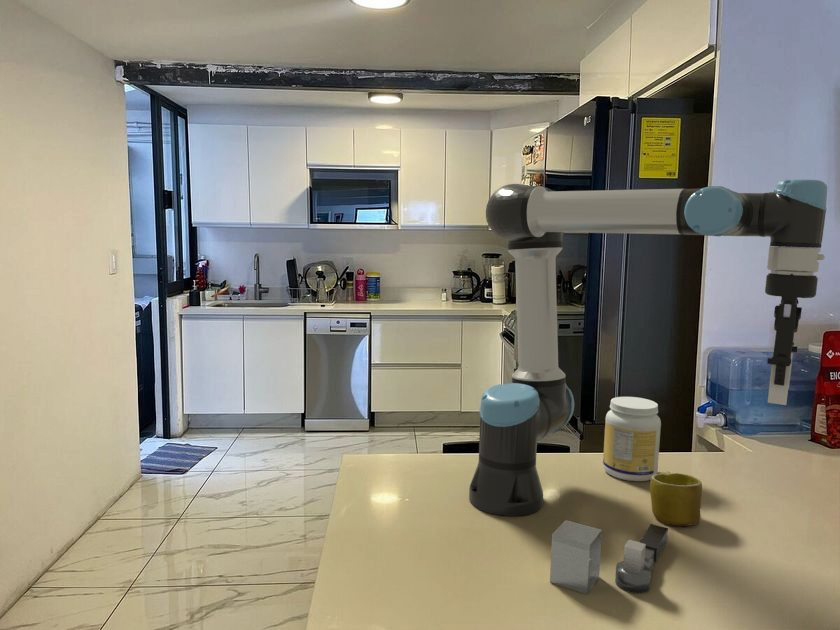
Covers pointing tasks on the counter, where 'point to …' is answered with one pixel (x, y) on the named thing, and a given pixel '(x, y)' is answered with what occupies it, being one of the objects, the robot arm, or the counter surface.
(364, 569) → the counter surface
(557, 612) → the counter surface
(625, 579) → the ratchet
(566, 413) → the robot arm
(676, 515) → the mug
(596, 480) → the counter surface
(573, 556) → the grey block
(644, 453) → the supplement tub
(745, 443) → the counter surface
